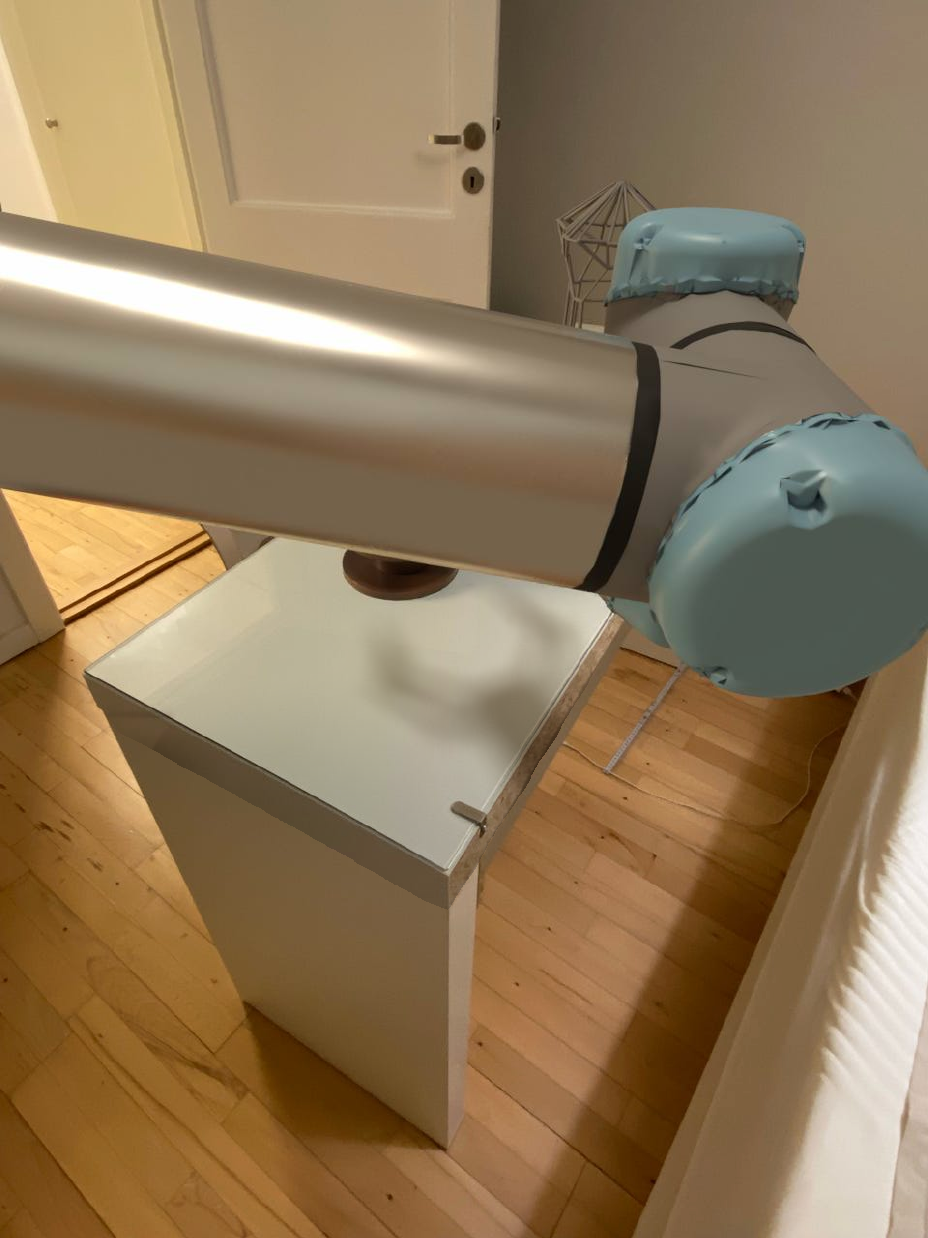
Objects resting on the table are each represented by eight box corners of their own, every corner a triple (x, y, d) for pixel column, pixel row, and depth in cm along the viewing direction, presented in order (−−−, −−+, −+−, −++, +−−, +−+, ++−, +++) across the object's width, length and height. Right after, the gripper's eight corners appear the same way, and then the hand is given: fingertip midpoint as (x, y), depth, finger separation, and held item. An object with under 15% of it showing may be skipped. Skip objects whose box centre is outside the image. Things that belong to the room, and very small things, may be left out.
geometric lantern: (648, 455, 105) (698, 189, 83) (546, 454, 105) (568, 189, 83) (631, 414, 117) (670, 172, 95) (539, 413, 117) (557, 172, 95)
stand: (341, 604, 77) (334, 560, 73) (345, 536, 88) (339, 495, 84) (464, 596, 78) (464, 552, 74) (453, 530, 89) (453, 489, 85)
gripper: (374, 564, 42) (287, 431, 57) (692, 481, 50) (544, 384, 65) (363, 452, 37) (271, 338, 52) (716, 380, 46) (551, 300, 60)
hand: (423, 363), depth 59 cm, fingers open, 13 cm apart
